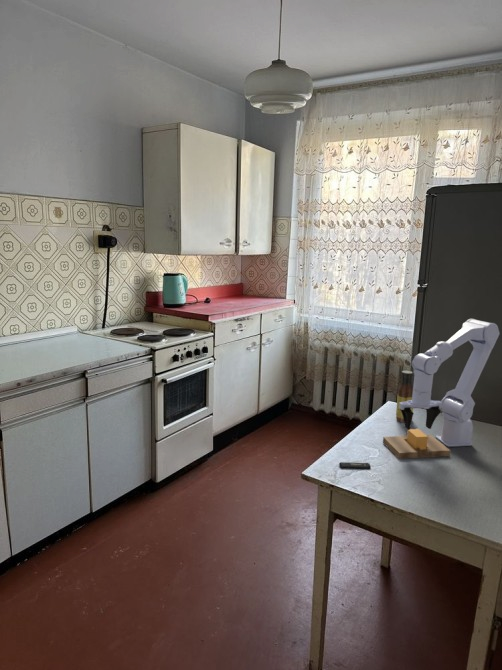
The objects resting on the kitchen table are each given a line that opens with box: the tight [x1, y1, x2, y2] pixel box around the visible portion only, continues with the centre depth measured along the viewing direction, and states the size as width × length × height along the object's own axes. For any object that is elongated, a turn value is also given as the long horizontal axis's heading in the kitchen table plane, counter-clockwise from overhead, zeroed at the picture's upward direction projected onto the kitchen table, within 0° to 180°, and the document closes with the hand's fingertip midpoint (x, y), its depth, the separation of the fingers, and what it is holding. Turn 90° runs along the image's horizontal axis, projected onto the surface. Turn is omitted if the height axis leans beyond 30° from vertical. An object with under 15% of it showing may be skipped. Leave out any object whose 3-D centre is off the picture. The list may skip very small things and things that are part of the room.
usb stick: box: [338, 461, 372, 470], centre depth 143 cm, size 10×3×2 cm, turn 90°
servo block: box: [406, 428, 428, 450], centre depth 156 cm, size 4×9×6 cm, turn 9°
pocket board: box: [382, 434, 451, 460], centre depth 156 cm, size 18×12×2 cm, turn 99°
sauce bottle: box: [395, 370, 414, 423], centre depth 179 cm, size 7×6×20 cm
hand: (417, 428), depth 155 cm, fingers open, 7 cm apart
